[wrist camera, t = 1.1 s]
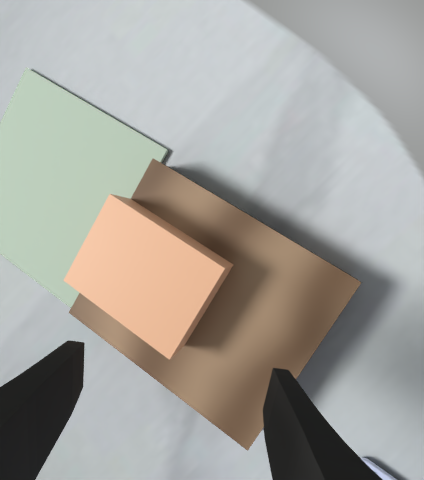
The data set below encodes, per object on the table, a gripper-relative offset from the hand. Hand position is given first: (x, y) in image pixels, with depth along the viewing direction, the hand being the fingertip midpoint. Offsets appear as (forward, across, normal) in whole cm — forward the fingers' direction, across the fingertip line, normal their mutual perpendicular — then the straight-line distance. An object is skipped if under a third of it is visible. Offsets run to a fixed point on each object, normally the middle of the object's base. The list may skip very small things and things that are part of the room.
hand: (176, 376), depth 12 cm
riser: (+10, -1, +2) cm, 10 cm away
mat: (+15, +12, -3) cm, 20 cm away
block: (+9, +2, 0) cm, 9 cm away
